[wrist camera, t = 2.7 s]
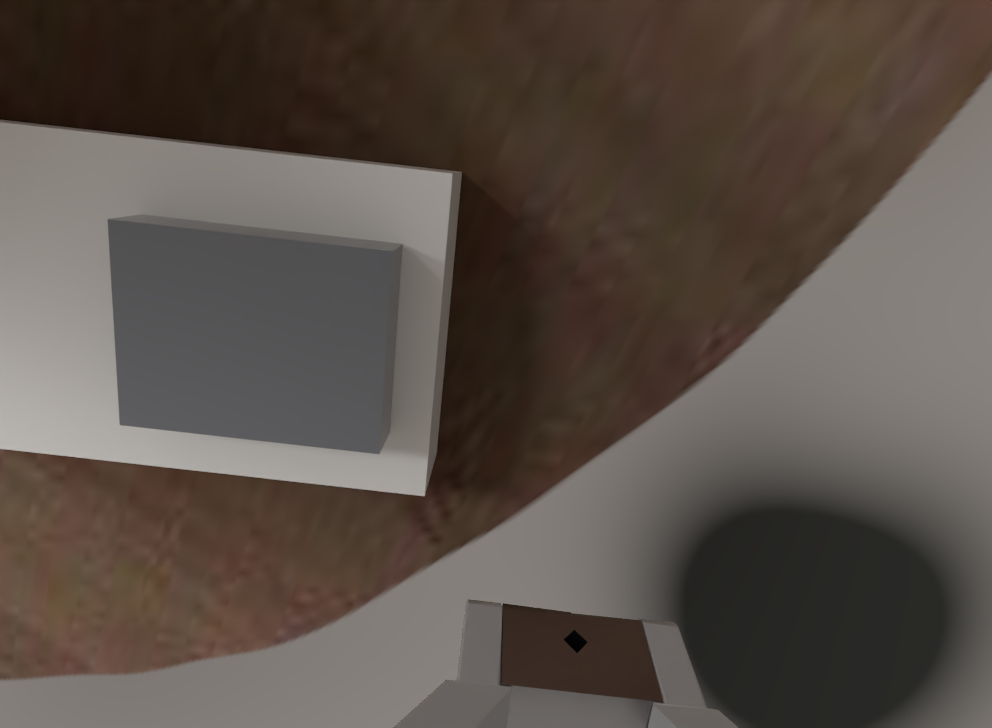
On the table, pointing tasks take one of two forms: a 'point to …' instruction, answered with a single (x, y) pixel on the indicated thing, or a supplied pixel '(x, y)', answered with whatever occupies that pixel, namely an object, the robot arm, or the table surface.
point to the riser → (211, 198)
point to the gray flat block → (254, 332)
